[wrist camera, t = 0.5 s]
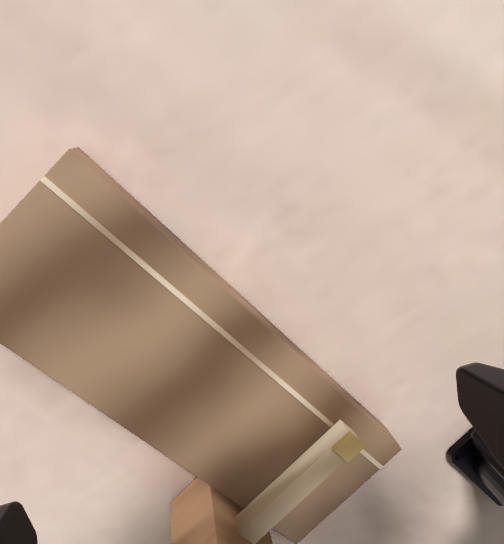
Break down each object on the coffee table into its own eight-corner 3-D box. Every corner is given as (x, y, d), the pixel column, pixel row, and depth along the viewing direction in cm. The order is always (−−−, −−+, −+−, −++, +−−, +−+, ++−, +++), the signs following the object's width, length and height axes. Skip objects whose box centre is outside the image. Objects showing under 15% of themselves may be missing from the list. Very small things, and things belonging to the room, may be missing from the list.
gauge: (356, 418, 26) (409, 499, 20) (226, 538, 27) (243, 647, 21) (305, 373, 24) (348, 447, 19) (170, 502, 25) (171, 609, 19)
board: (384, 426, 26) (402, 450, 24) (287, 515, 27) (296, 545, 25) (78, 147, 19) (68, 149, 17) (-45, 280, 19) (-69, 297, 18)
